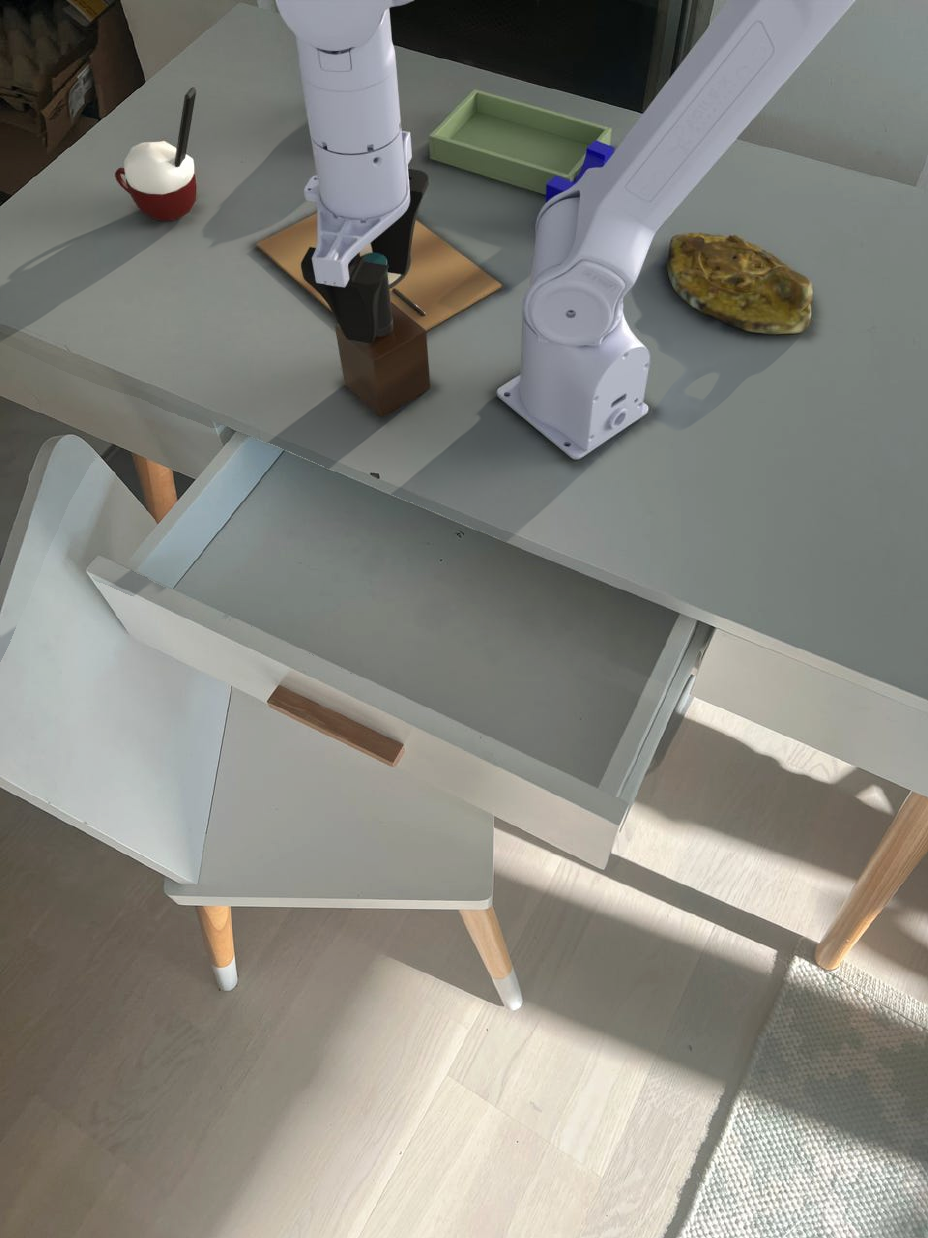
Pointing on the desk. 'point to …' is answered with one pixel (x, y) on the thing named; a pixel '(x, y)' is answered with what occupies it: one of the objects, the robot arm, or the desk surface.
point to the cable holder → (593, 159)
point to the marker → (382, 298)
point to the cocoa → (162, 173)
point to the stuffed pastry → (739, 283)
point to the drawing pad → (423, 293)
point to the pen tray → (514, 141)
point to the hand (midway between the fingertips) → (377, 303)
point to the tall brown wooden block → (387, 364)
